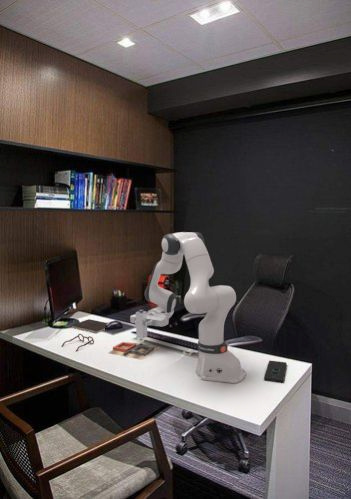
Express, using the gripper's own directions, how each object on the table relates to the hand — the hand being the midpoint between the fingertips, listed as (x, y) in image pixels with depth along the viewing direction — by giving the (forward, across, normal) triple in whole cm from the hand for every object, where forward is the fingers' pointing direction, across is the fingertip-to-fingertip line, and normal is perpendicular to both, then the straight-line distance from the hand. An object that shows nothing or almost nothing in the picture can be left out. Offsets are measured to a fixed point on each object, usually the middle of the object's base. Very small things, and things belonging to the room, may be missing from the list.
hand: (140, 323), depth 186 cm
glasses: (+3, -40, +17) cm, 44 cm away
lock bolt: (-1, 0, +7) cm, 7 cm away
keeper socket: (-1, -11, +15) cm, 19 cm away
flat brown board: (-1, -5, +16) cm, 17 cm away
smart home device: (-9, +66, +18) cm, 69 cm away
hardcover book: (-27, -55, +17) cm, 64 cm away
